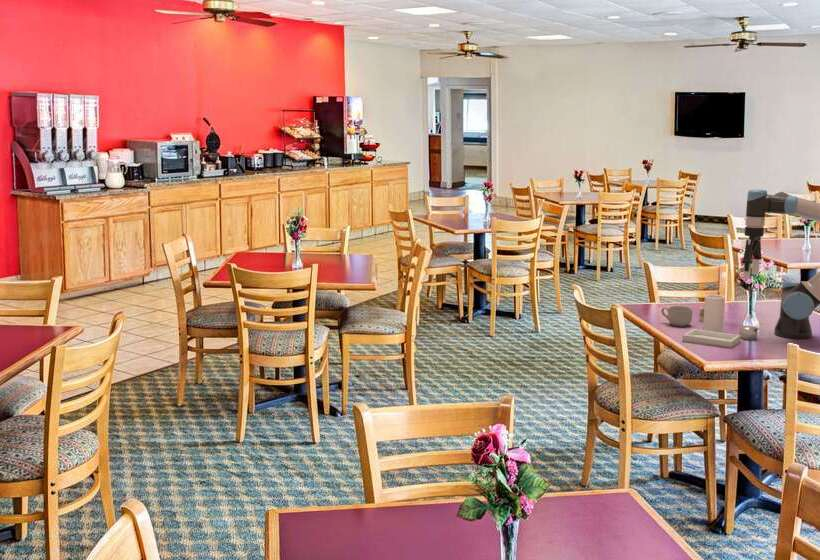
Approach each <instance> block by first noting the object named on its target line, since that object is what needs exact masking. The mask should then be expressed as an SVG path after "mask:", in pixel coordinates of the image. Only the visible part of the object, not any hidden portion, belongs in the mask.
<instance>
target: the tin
mask: <svg viewBox="0 0 820 560" xmlns="http://www.w3.org/2000/svg"><path fill="white" fill-rule="evenodd" d="M758 330H759V328H758V327H757V326H754V325H740V327H739V335H741V340H742V339H743V341H748V340H754V341H757V340H758Z"/></svg>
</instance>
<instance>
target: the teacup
mask: <svg viewBox="0 0 820 560" xmlns="http://www.w3.org/2000/svg"><path fill="white" fill-rule="evenodd" d="M664 310H666V311H667V313H665V312H664ZM693 310H694V309H693V308H692V307H690V306H684V305H671V306H663V307H662V308H661V312H660V313H661V314H662V316H664V317H665V319H667V321H668V322H669V324H671V325H672V326H674V327H678V326H679V327H680V328H682V327H683V326H684V327H686V326H688V325H690V324H691V322H692V320H693Z"/></svg>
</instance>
